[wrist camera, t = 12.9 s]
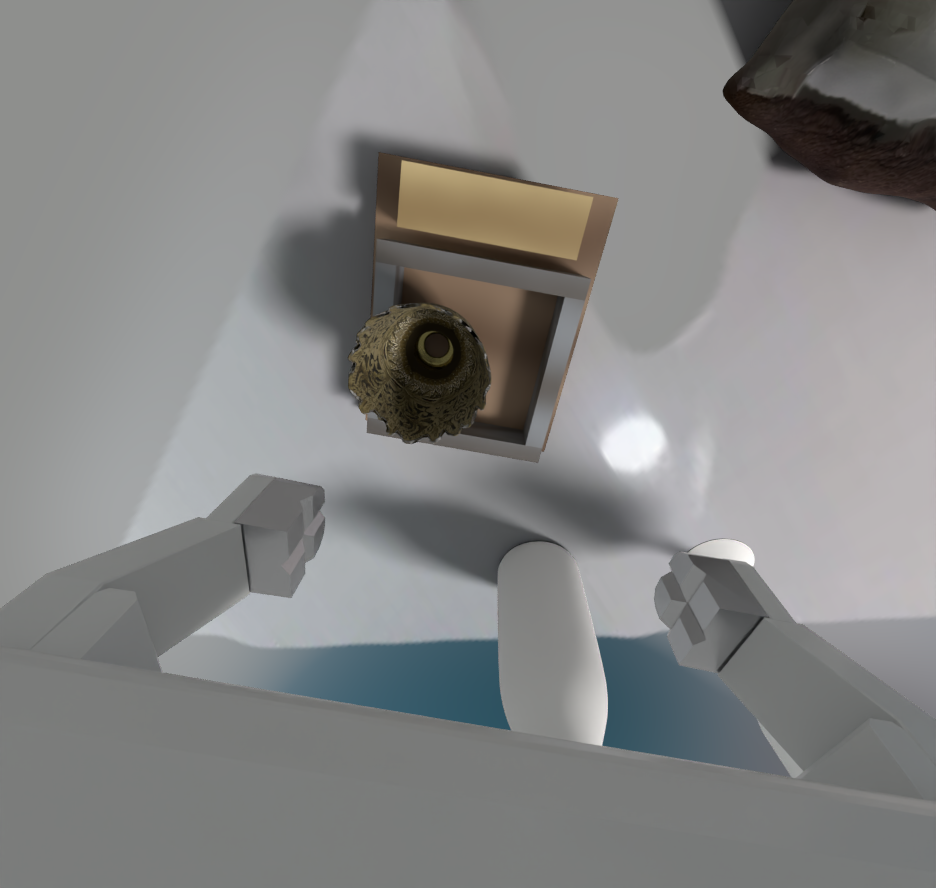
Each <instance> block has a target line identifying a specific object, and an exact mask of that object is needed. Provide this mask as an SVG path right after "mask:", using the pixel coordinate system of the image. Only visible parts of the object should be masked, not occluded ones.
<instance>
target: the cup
mask: <svg viewBox="0 0 936 888" xmlns="http://www.w3.org/2000/svg"><path fill="white" fill-rule="evenodd" d="M365 325H366V326H363V328H362V329H361V330H360V331H359V332H358V333H357V340H356V343H357V345H356V346H355V348H353V349H352V351H351V353H350V354H349V356H348V360H349V361H351V362H352V367H351V370H350V372H349V379H348V387H349V390H350V392H351V393H352V394H353V395H354V396H355V398H356V399H357V400H358V401H359V404H358V407H359V409H360V411H361V412H362V413H363V414H368V413H370V412H373V413H374V414H375V415H376V416H377V419H378V420H379V421H382V422H384V423H385V424H386V427H387V429H386V433H387V434H388V435H395V434H396V433H397V434H398V435H399V437H400V438H401V439H402V441H403V442H404V443H406V444H413V443H416V442H419V441H420V440H422V439H424V438H429V441H430V442H431V443H432V444H435V443H436V442H438V441H439V440H441V437H442V435H443V434H444V433H446V434H447V435H448V436H449V435H451V436H457V435H458V434H459V433H460V432H461V430H462V429H464V428H469V427H470V426H471V425H472V424H473V422H474V420H475V418H476V415H477V410H478V409H480V410H484V408H485V405H486V394H487V392H488V390H489V389H490V386H491V381H492V378H491V370H490V366H489V362H488V358H487V353H486V350H485V348H484V346H483V344H482V342H481V341H480V339H479V337H478V335H477V333H476V332H475V330H474V329H473V327H472V326H471V325H470V323H469V322H468V321H467V320H466V319H465V318H464V317H462V316H461V315H460V314H458V313H457V312H455V311H454V310H452V309H450V308H448V307H445V306H442V305H438V304H433V303H409V304H403V305H394V306H391V307H388V310H387V311H384V312H381V313H379V314H376V315H375V316H373V317H371V318H370V319H369V320H367V322H366V323H365ZM432 334H441V335H443V336H444V337H445V338H446V339H447V341H448V345H449V347H448V351H447V353H446V354H445V355H444V356H442V357H433V356H431V355H429V354H428V352H427V351H426V349H425V342H426V339H427V338H428V337H429V336H430V335H432Z"/></svg>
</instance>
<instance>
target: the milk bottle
mask: <svg viewBox="0 0 936 888" xmlns="http://www.w3.org/2000/svg"><path fill="white" fill-rule="evenodd" d="M498 656H499V679H500V691H501V698H502V703H503V707H504V711H505V715H506V718H507V721H508V723H509V726H510V728H511V730H512V731H515V732H521V733H527V734H533V735H539V736H545V737H551V738H557V739H563V740H569V741H575V742H582V743H588V744H594V745H600V746H602V743H603V737H604V732H605V727H606V721H607V711H608V709H607V708H608V698H607V697H608V696H607V687H606V680H605V675H604V670H603V665H602V660H601V656H600V652H599V648H598V643H597V639H596V635H595V631H594V627H593V623H592V619H591V615H590V611H589V607H588V603H587V599H586V595H585V591H584V587H583V583H582V579H581V575H580V572H579V568H578V565H577V563H576V561H575V559H574V558H573V556H572V555H571V554H570V553H569V552H568V551H567V550H565V549H564V548H562V547H561V546H558V545H556V544H553V543H549V542H542V541H536V542H528V543H523V544H521V545H518V546H516V547H515V548H513V549H511V550H510V551H509V552H508V553H507V554H506V555H505V556H504V558H503V559H502V561H501V562H500V565H499V568H498Z"/></svg>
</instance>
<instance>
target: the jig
mask: <svg viewBox="0 0 936 888" xmlns="http://www.w3.org/2000/svg"><path fill="white" fill-rule="evenodd" d="M617 202H618V198H613V197H608V196H604V195H598V194H593V193H588V192H582V191H578V190H572V189H567V188H562V187H557V186H552V185H546V184H541V183H536V182H531V181H526V180H521V179H515V178H510V177H505V176H500V175H495V174H489V173H484V172H479V171H474V170H469V169H463V168H458V167H453V166H448V165H443V164H438V163H432V162H427V161H422V160H417V159H412V158H406V157H401V156H396V155H391V154H386V153H381V152H379V157H378V178H377V198H376V218H375V239H374V259H373V279H372V300H371V317H373V316H375V315H376V314H379V313H381V312H384V311H387V310H388V307H391V306H394V305H403V304H409V303H433V304H438V305H442V306H445V307H448V308H450V309H452V310H454V311H455V312H457V313H458V314H460V315H461V316H462V317H464V318H465V319H466V320H467V321H468V322H469V323H470V325H471V326H472V327H473V329H474V330H475V332H476V333H477V335H478V337H479V339H480V341H481V342H482V344H483V346H484V348H485V350H486V353H487V358H488V362H489V366H490V370H491V378H492V381H491V386H490V389H489V390H488V392H487V394H486V405H485V408H484V410H480V409H478V410H477V415H476V418H475V420H474V422H473V424H472V425H471V426H470V427H469V428H464V429H462V430H461V432H460V433H459V434H458V435H457V436H451V435H449V436H448V435H447V434H446V433H444V434H443V435H442V437H441V440H439V441H438V442H436V443H435V444H433V445H439V446H445V447H451V448H456V449H462V450H468V451H473V452H479V453H485V454H490V455H496V456H502V457H507V458H513V459H519V460H525V461H530V462H536V463H538V461H539V457H540V454H541V451H543V452H544V450H545V446H546V443H547V440H548V436H549V433H550V429H551V426H552V423H553V419H554V416H555V412H556V409H557V406H558V402H559V399H560V396H561V392H562V389H563V385H564V382H565V379H566V375H567V372H568V368H569V365H570V362H571V358H572V355H573V351H574V348H575V345H576V341H577V338H578V334H579V331H580V328H581V324H582V321H583V317H584V314H585V311H586V307H587V304H588V300H589V297H590V294H591V290H592V287H593V283H594V280H595V277H596V273H597V270H598V266H599V263H600V260H601V256H602V253H603V250H604V246H605V243H606V239H607V236H608V233H609V229H610V226H611V222H612V219H613V215H614V212H615V209H616V205H617ZM448 347H449V345H448V341H447V339H446V338H445V337H444V336H443V335H441V334H432V335H430V336H429V337H428V338H427V339H426V342H425V349H426V351H427V352H428V354H429V355H431V356H433V357H442V356H444V355H445V354H446V353H447V351H448ZM366 420H367V433H371V434H377V435H382V436H388V437H394V438H399V439H401V438H400V437H399V435H398V434H397V433H396V434H395V435H388V434H387V433H386V429H387V427H386V424H385V423H384V422H382V421H379V420H378V419H377V416H376V415H375V414H374V413H373V412H370V413H368V414H366ZM419 442H422V443H428V444H432V443H431V442H430V441H429V438H424V439H422V440H420V441H419Z"/></svg>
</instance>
